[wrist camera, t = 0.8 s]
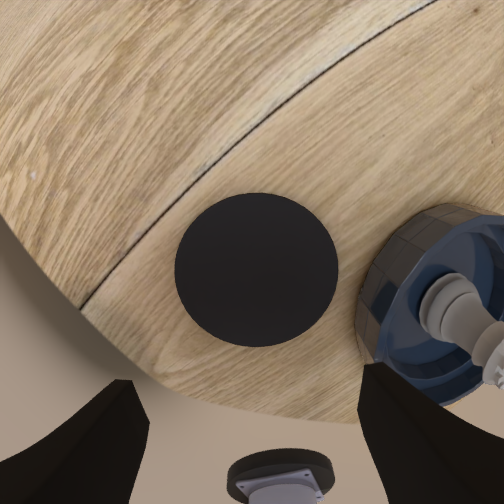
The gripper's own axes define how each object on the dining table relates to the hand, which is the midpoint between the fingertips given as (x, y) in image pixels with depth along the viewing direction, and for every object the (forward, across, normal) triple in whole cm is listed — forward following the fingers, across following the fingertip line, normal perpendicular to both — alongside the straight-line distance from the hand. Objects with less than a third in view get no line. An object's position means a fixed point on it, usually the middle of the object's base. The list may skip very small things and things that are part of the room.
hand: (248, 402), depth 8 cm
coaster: (+9, 0, -1) cm, 9 cm away
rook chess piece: (+9, -13, +2) cm, 15 cm away
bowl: (+9, -13, +2) cm, 16 cm away
